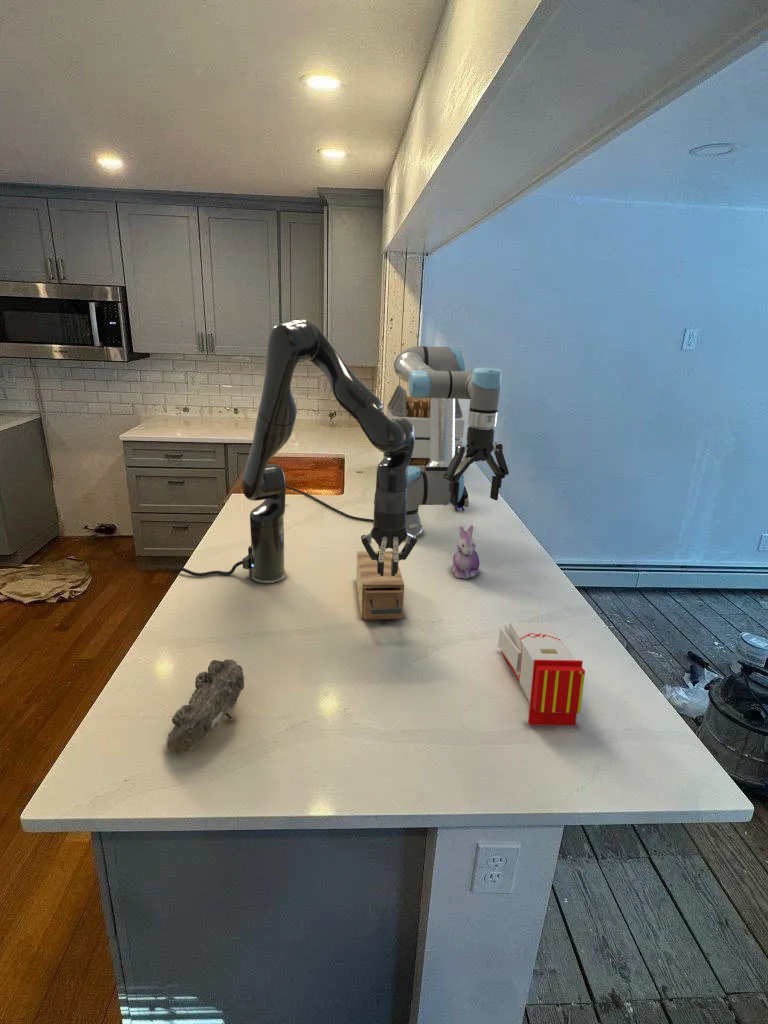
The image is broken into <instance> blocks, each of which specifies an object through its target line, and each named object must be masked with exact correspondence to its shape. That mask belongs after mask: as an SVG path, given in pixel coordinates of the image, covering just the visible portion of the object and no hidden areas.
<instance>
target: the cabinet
mask: <svg viewBox="0 0 768 1024" xmlns="http://www.w3.org/2000/svg"><path fill="white" fill-rule="evenodd" d="M374 552H375V553H377V554H378V550H377V551H375V550H374ZM392 558H393V555H392V550H391V551H389V550H388V551H387V550H385V554H384V560H383V561H384V574H383V576H380V574H378V572H377V561H376V560H372V559H371V558H370V556H369V554H368V552H367V551H356V569H355V570H356V574H355V575H356V577H355V583H356V591H357V596H358V597H357V598H358V605H359V612H360V619H364V605H365V591H366V588H398V590H402V591H403V599H404V595H405V583H404V579H403V575H402V573H401V569H400V566H399V565H398V572H397V574H395V576H391V559H392ZM403 613H404V600H403V601H402V615H403ZM402 618H403V616H402V617H401V619H402Z"/></svg>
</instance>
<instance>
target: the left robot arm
mask: <svg viewBox="0 0 768 1024" xmlns="http://www.w3.org/2000/svg"><path fill="white" fill-rule="evenodd" d="M267 340H268V341H267V350H266V359H265V373H264V379H263V380H264V381H263V385H262V391H261V398H260V403H259V406H258V410H257V415H256V421H255V428H254V432H253V438H252V442H251V446H250V450H249V454H248V457H247V459H246V461H245V462H246V463H245V466H244V469H243V473H242V479H241V488H242V493H243V494H244V497H245V498H246V499H247V500H249V501H252V502H253V501H255V502H256V501H257V502H258V501H263V502H262V503H261V504H259V505H258V506H256V507H255V508H253V509H252V510H251V511H250V513H249V528H250V529H249V530H250V545H248V547H247V550H248V551H247V553H248V555H246V556H245V557H243V558H242V559H241V560H240V561H238V562H236V563H235V564H233V565H232V567H231V568H230V570H229V571H222V570H211V571H206V572H194V571H191V570H190V569H188V568H185V567H181V566H180V567H175V568H174V569H172V570H171V572H170V573H171V574H176V573H177V572H184V573H186V574H188V575H191V576H193V577H194V576H195V577H207V576H211V575H220V576H221V575H222V576H230V575H232V574H234V573H235V571H236V568H238V567H240V566H241V565H242V569H243V570H244V569H245V570H248V573H249V574H248V577H249V579H252V580H253V581H254V582H257V583H259V584H275V583H278V582H280V581H282V580H284V579H285V577H286V572H285V571H286V569H285V532H284V531H285V524H284V523H285V520H284V516H285V512H286V496H287V495H286V493H287V488H286V486H287V480H286V475H285V472H284V469H283V468H282V467H281V465H280V464H277V463H270V461H271V460H272V459H273V457H275V455H277V453H279V451H280V450H281V449H283V447H284V446H285V445H286V443H287V442H288V441H289V440H290V438H291V436H292V433H293V431H294V427H295V423H296V419H297V412H298V411H297V408H298V407H297V404H296V400H295V398H294V395H293V393H292V389H291V384H292V379H293V375H294V371H295V369H296V367H297V365H298V364H301V363H304V362H307V361H309V362H311V363H312V364H314V366H316V367H317V368H319V370H320V371H321V372H322V373H323V374H324V376H325V377H326V379H327V381H328V384H329V386H330V390H331V393H332V394H333V397H334V398H335V400H336V402H337V403H338V404H339V405H340V407H341V408H342V409H343V410H344V411H345V412H346V413H347V414H348V415H349V416H350V417H351V418H352V419H354V420H355V421H356V423H358V425H359V426H360V428H361V430H362V432H363V433H364V434H365V436H366V438H367V439H368V441H369V442H370V443H371V445H372V446H373V447H374V448H375V449H377V450H378V451H379V452H381V453H383V458H382V460H381V461H380V462H379V463H378V465H377V468H376V476H375V478H376V479H375V492H374V497H373V498H374V500H373V520H374V522H372V523H373V527H372V529H371V530H370V533H367V534H366V535H365V534H361V536H360V540H361V544H362V545H363V547H364V549H365V552H368V554H369V556H370V558H371V559H372V560H376V561H377V572H378V574H380V576H383V574H384V561H383V560H384V554H385V551H386V549H391V551H392V555H393V558H392V559H391V576H395V574H397V572H398V566H399V562H400V561H405V560H407V559H408V557H409V555H410V554H411V552H412V551H413V549H414V547H416V544H417V543H418V538H416V537H415V535H410V534H408V533H407V530H406V516H407V481H408V467H409V464H410V461H411V457H412V453H413V448H414V443H415V432H414V428H413V426H412V424H411V422H410V421H408V420H407V419H405V418H394V419H391V420H389V419H388V418H387V417H386V413H384V411H383V409H384V404H383V402H382V400H381V399H380V398H379V397H378V396H377V395H376V394H375V393H374V392H373V391H371V389H370V388H368V387H367V386H366V385H365V383H364V382H363V381H362V380H360V378H359V377H358V376H356V375H355V374H354V372H353V371H352V370H351V369H350V368H349V366H348V365H347V364H346V363H345V361H344V360H343V359H342V357H341V356H340V354H339V353H338V352H337V350H336V349H335V348H334V346H332V344H331V342H329V340H328V339H327V338H326V336H325V335H324V333H323V332H322V330H321V329H320V328H319V327H318V326H317V325H316V324H315V323H314V322H312V321H311V320H310V319H306V318H297V319H292V320H288V321H284V322H280V323H278V324H276V325H274V327H272V329H271V331H270V333H269V336H268V339H267ZM384 453H385V455H384ZM269 463H270V464H269ZM405 538H406V540H404V539H405ZM372 539H373V540H374V542H375V543H376V544H377V547H378V548H377V551H378V554H377V553H375V552H374V551H375V550H374V548H373V547H372V542H373V541H372ZM404 541H405V544H404V546H403V548H402V549H401V551H399V549H400V548H399V547H400V546H401V544H402V543H403V542H404Z"/></svg>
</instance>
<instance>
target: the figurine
mask: <svg viewBox="0 0 768 1024" xmlns="http://www.w3.org/2000/svg"><path fill="white" fill-rule="evenodd" d="M458 533H459V535H458V536H459V537H458V538H459V539H458V541H457V544H456V547H457V548H456V549H457V551H456V553H455V554H454V555H453V561H452V563H453V565H452V568H451V571H452V573H453V574H454V576H455V577H456V578H458V579H465V580H466V579H469V578H474V577H476V576H477V574H478V573H479V570H480V569H479V568H480V564H481V563H480V562H481V561H480V557H479V554H478V552H477V551H476V549H477V548H476V546H477V545H476V542H475V540H474V537H473V533H474V525H473V524H471V525H469V527H468V529H467V530H465V529H464V527H463V526H462V525H460V526H459V527H458Z"/></svg>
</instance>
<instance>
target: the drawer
mask: <svg viewBox="0 0 768 1024" xmlns="http://www.w3.org/2000/svg"><path fill="white" fill-rule="evenodd" d="M402 601H403V602H404V598H403V591H402V590H398V588H366V591H365V605H364V618H363V619H364V620H365V621H366V620H402V618H403V614H402ZM401 617H402V618H401Z"/></svg>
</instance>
